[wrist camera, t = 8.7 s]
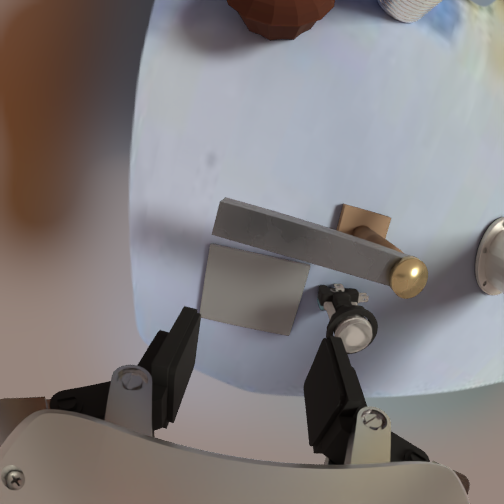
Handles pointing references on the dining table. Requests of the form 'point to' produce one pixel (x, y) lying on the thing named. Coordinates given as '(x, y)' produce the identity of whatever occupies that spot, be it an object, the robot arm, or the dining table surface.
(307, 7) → the muffin
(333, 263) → the steel strap
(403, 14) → the water bottle
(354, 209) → the post
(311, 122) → the dining table surface
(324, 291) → the push button
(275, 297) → the rubber mat
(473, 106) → the dining table surface
